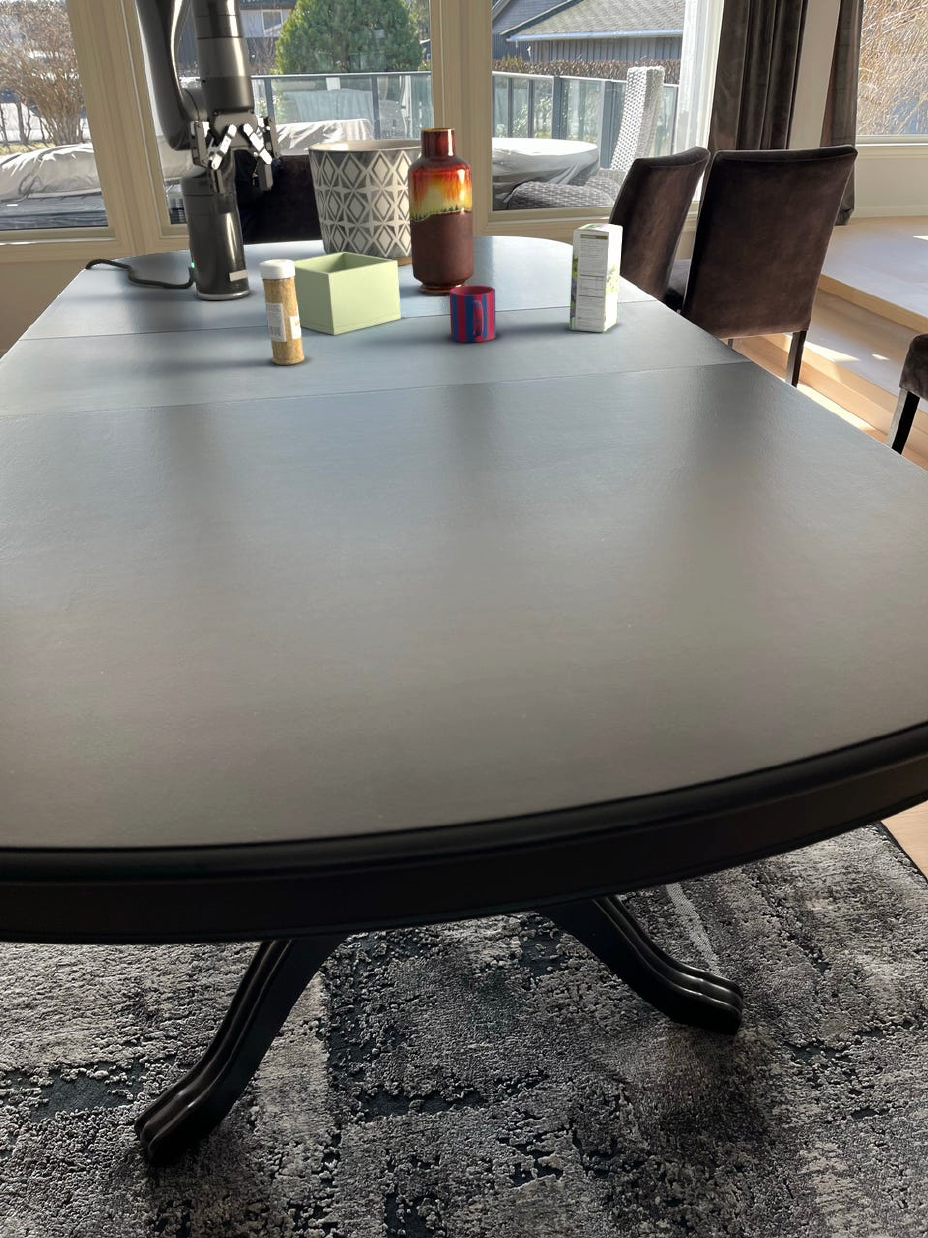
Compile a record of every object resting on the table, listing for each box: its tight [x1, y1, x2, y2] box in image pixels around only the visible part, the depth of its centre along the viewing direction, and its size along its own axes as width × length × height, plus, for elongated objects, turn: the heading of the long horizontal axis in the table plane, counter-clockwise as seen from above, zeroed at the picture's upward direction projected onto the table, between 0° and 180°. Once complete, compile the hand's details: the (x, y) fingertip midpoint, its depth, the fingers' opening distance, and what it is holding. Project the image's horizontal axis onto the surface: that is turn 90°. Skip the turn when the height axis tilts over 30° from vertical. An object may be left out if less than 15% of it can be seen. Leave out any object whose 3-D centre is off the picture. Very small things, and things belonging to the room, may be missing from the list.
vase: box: [407, 127, 474, 297], centre depth 164 cm, size 11×11×26 cm
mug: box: [449, 285, 497, 344], centre depth 139 cm, size 7×10×7 cm
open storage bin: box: [292, 252, 402, 336], centre depth 151 cm, size 14×14×9 cm
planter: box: [307, 138, 421, 266], centre depth 193 cm, size 26×26×22 cm
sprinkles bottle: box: [259, 258, 305, 366], centre depth 130 cm, size 5×5×13 cm
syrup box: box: [568, 222, 623, 333], centre depth 141 cm, size 6×6×14 cm
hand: (242, 192), depth 148 cm, fingers open, 8 cm apart
